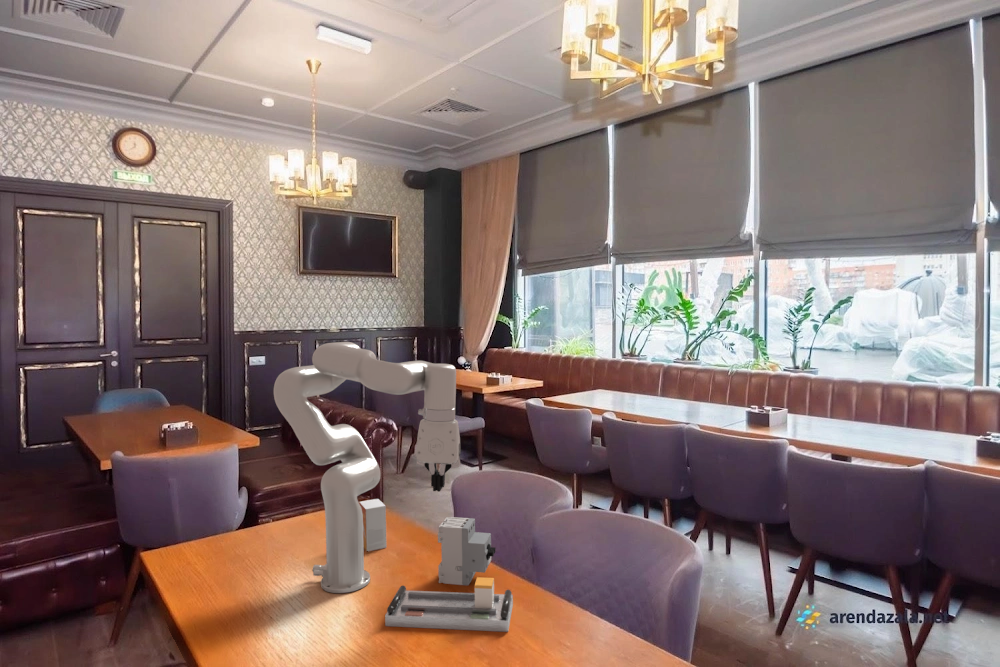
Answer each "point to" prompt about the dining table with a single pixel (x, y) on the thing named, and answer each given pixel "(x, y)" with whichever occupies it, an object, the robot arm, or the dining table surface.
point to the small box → (374, 524)
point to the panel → (448, 611)
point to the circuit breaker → (462, 551)
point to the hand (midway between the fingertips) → (437, 489)
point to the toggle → (484, 592)
